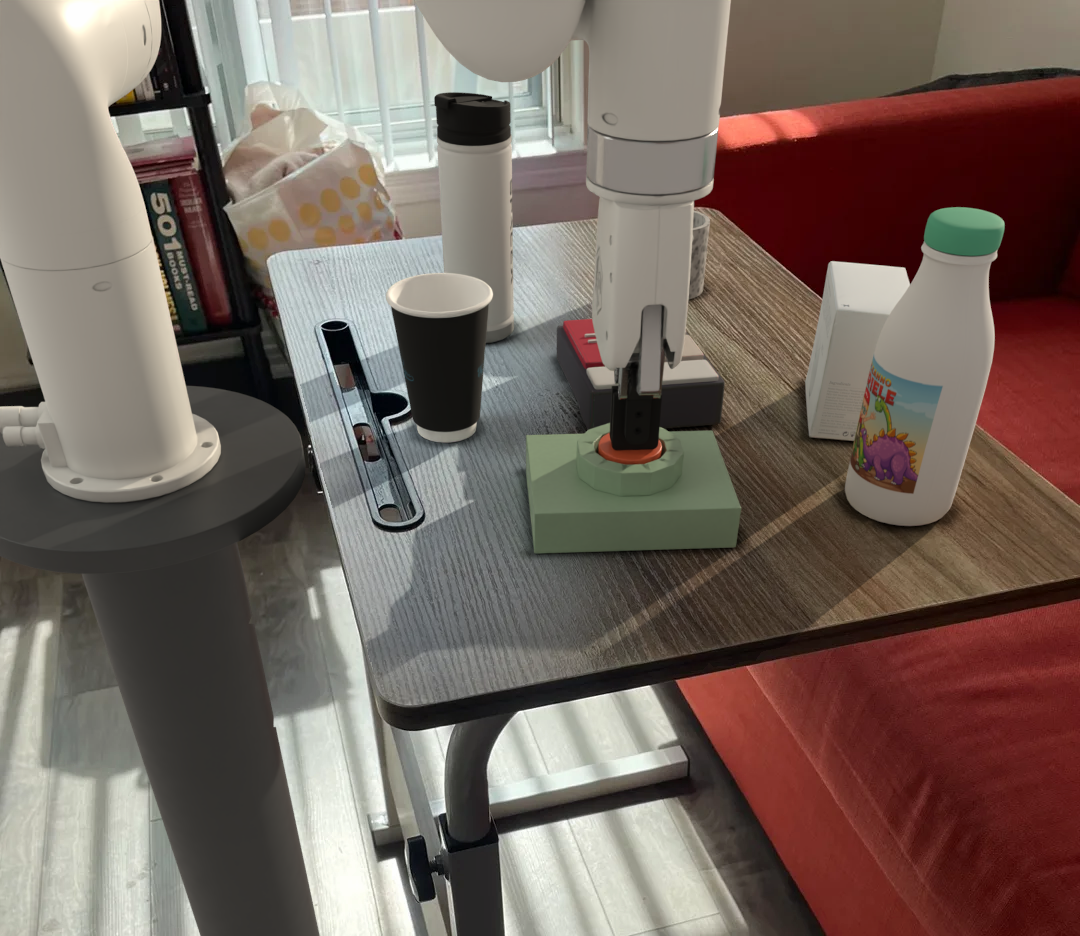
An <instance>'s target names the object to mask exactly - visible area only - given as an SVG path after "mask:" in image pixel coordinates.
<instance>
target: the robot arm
mask: <svg viewBox="0 0 1080 936" xmlns="http://www.w3.org/2000/svg"><path fill="white" fill-rule="evenodd" d="M413 1H414V2H415V5H416V6H417V8H418V9H419V11H420V13H421V15H422V17H423V18H424V19H425V21H426V23H427V24H428V26H429V28H430V29H431V31H432V32H433V34H434V36H435V37H436V38H437V40H438V41H439V42H440V44H441V45H442V46H443V47H444V48H445V50H446V51H447V52H448V53H449V54H450V55H451V56H452V57H453V58H454V59H455V60H456V61H457V62H458V63H459V64H460V65H461V66H462V67H464V68H465V69H467V70H468V71H469V72H471V73H472V74H475V75H476V76H479V77H481V78H483V79H486V80H488V81H493V82H497V83H518V82H521V81H525V80H529V79H531V78H534V77H536V76H537V75H540V74H541V73H543V72H544V71H546V70H547V69H548V68H550V67H551V66H552V65H553V64H554V63H555V62H556V61H557V60H558V59H559V57H560V56H561V55H562V53H564V51H565V50H566V48H567V47H568V45H569V43H570V42H572V41H584V42H585V43H586V45H587V47H588V51H589V52H588V84H587V86H588V87H587V125H586V126H587V128H586V129H587V130H586V131H587V133H586V135H587V136H586V166H585V167H586V170H585V171H586V172H585V186H586V188H587V190H588V191H589V192H590V193H593V194H594V195H595V196H597V197H599V198H598V209H597V222H596V234H595V235H596V237H595V251H594V252H595V254H594V255H595V256H594V271H593V285H592V286H593V287H592V298H591V299H592V300H591V319H592V321H593V326H594V331H595V336H596V340H597V344H598V348H599V352H600V356H601V359H602V362H603V364H604V365H605V366H606V368H608V369H609V370H610V371H614V382H615V384H618V386H612V390H611V413H610V440H611V444H612V448H613V449H614V450H651V449H655V448H656V447H657V446H658V440H659V428H660V415H661V402H662V393H661V390H662V380H663V371H664V363H665V357H666V359H667V362H668V365H669V367H670V368H671V369H673V368H675V367H676V366H677V365H678V364H679V363H680V362H681V359H682V354H683V348H684V340H685V332H686V331H687V321H688V310H689V309H688V307H689V299H688V298H689V285H690V270H691V254H692V242H693V216H694V211H695V201H697V200H700V199H702V198H705V197H706V196H708V195H709V194H711V192H712V191H713V188H714V181H715V179H714V178H715V168H716V157H717V146H718V137H719V126H720V119H721V118H720V117H721V106H722V98H723V97H722V95H723V87H724V86H723V84H724V74H725V64H726V52H727V45H728V32H729V25H730V24H729V22H730V14H731V3H732V0H413ZM161 14H162V13H161V6H160V0H0V262H1V266H2V268H3V270H4V275H5V278H6V281H7V284H8V287H9V291H10V293H11V297H12V300H13V304H14V307H15V310H16V313H17V317H18V319H19V323H20V325H21V328H22V329H21V330H22V332H23V335H24V338H25V341H26V344H27V348H28V351H29V354H30V357H31V361H32V363H33V366H34V367H33V368H34V370H35V373H36V376H37V380H38V382H39V386H40V389H41V392H42V395H43V399H44V401H40V403H39V404H38V406H23V405H14V406H13V405H11V406H8V405H7V406H6V405H5V406H0V433H1V434H3V439H4V442H5V444H6V445H7V446H26V445H39V447H40V448H43V449H45V450H44V451H43V454H42V458H41V463H42V469H43V471H44V474H45V477H46V479H47V482H48V483H49V484H50V485H51V486H52V487H53V488H54V489H56V490H58V491H59V492H61V493H63V494H65V495H67V496H70V497H73V498H76V499H80V500H85V501H90V502H102V503H122V502H132V501H140V500H146V499H150V498H155V497H159V496H162V495H166V494H169V493H172V492H175V491H177V490H180V489H182V488H184V487H186V486H189V485H190V484H192V483H194V482H196V481H197V480H199V479H201V478H202V477H203V476H204V475H205V474H207V473H208V472H209V471H210V470H211V469H212V468H213V467H214V465H215V464H216V463H217V462H218V459H219V457H220V454H221V444H220V440H219V436H218V432H217V431H216V429H215V428H214V426H213V425H212V424H210V423H209V422H208V421H207V420H205V419H203V418H201V417H199V416H197V415H195V414H192V412H191V407H190V403H189V398H188V394H187V389H186V386H187V384H186V381H185V376H184V371H183V367H182V363H181V362H182V361H181V358H180V353H179V350H178V344H177V339H176V335H175V331H174V328H173V322H172V318H171V313H170V308H169V305H168V304H169V303H168V299H167V295H166V291H165V286H164V281H163V277H162V273H161V272H162V271H161V267H160V263H159V258H158V253H157V250H156V245H155V241H154V236H153V234H152V230H151V226H150V221H149V217H148V213H147V212H148V211H147V209H146V204H145V201H144V196H143V193H142V190H141V187H140V184H139V181H138V178H137V175H136V173H135V170H134V168H133V165H132V163H131V161H130V159H129V156H128V155H127V152H126V150H125V149H124V147H123V145H122V142H121V140H120V138H119V136H118V134H117V131H116V129H115V126H114V124H113V121H112V118H111V113H110V111H109V107H110V106H111V105H113V104H114V103H116V102H118V101H119V100H120V99H122V98H124V97H125V96H126V95H128V94H129V93H130V92H132V91H133V90H134V89H136V88H137V87H138V86H139V85H140V84H141V83H142V82H144V80H145V79H146V78H147V77H148V75H149V74H150V72H151V71H152V69H153V67H154V65H155V63H156V60H157V59H158V55H159V51H160V46H161V41H162V15H161Z"/></svg>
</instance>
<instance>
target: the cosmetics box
mask: <svg viewBox="0 0 1080 936" xmlns="http://www.w3.org/2000/svg"><path fill="white" fill-rule="evenodd" d="M824 281H825V282H824V286H823V287H824V288H823V292H822V293H823V294H822V298H821V299H822V300H821V304H820V310H819V315H818V319H817V325H816V331H815V335H814V339H813V345H812V350H811V355H810V359H809V365H808V369H807V372H806V377H805V382H804V384H805V385H804V386H805V401H806V403H805V404H806V416H807V426H808V427H807V428H808V436H809V438H812V439H813V438H814V439H827V440H839V441H851V442H854V439H855V435H856V430H857V425H858V421H859V416H860V411H861V407H862V402H863V398H864V393H865V389H866V385H867V380H868V376H869V371H870V367H871V363H872V359H873V356H874V352H875V348H876V344H877V341H878V338H879V335H880V333H881V330H882V328H883V326H884V324H885V322H886V320H887V318H888V316H889V315H890V313H891V311H892V310H893V309H894V307H895V306H896V304H897V303H898V302H899V300H900V299H901V297H902V296H903V295H904V293H905V292H906V290H907V289H908V287H909V286H910V284H911V283H910V279H909V276H908V273H907V270H906V267H903V266H902V267H901V266H892V265H891V266H890V265H879V264H869V263H859V262H847V261H835V260H832V261H830V262H828V264H827V270H826V275H825V280H824Z"/></svg>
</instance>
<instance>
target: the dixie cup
mask: <svg viewBox="0 0 1080 936" xmlns="http://www.w3.org/2000/svg"><path fill="white" fill-rule="evenodd" d="M492 297H493V292H492V289H491V288H490V286H489V285H488V284H486V283H485V282H483V281H482V280H480V279H477V278H474V277H471V276H467V275H461V274H453V273H444V272H433V273H422V274H417V275H411V276H410V277H406V278H403V279H400V280H398V281H396V282H394V283H393V284H392V285H391V286H390V287H389V288H387V291H386V293H385V300H386V302H387V304H388V305H389V306H390V309H391V315H392V320H393V324H394V329H395V335H396V340H397V345H398V349H399V350H398V351H399V354H400V361H401V365H402V371H403V376H404V381H405V387H406V391H407V397H408V402H409V407H410V413H411V418H412V421H413V422H414V424H415V426H416V430H417V433H418V434H419V435H420V436H421V437H422V438H424V439H425V440H428V441H430V442H435V443H455V442H460V441H463V440H466V439H469V438H470V437H472V436H473V435H474V434H475V433H476V431H477V425H478V424H477V423H478V421H479V420H480V418H481V407H482V395H483V381H484V369H485V356H486V344H487V343H486V333H487V321H488V308H489V303H490V301H491V300H492Z"/></svg>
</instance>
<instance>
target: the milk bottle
mask: <svg viewBox="0 0 1080 936" xmlns="http://www.w3.org/2000/svg"><path fill="white" fill-rule="evenodd" d="M1005 226H1006V225H1005V221H1004V220H1003V218H1002V217H1000V216H999V215H997V214H995V213H993V212H990V211H987V210H984V209H979V208H973V207H964V206H963V207H961V206H956V207H953V206H951V207H944V208H940V209H937V210H934V211H933V212H931V213H930V214H929V216H928V218H927V222H926V224H925V229H924V235H923V240H924V241H923V243H922V245H921V247H920V249H921V252H922V253H923V256H922V260H921V262H920V266H919V268H918V269H917V272H916V274H915V275H914V278H913V279H912V281H911V283H910V286H909V287H908V289H907V290H906V292H905V293H904V295H903V296H902V297H901V299H900V300H899V302H898V303H897V304H896V306H895V307H894V309H893V310H892V311H891V313H890V315H889V316H888V318H887V320H886V322H885V324H884V326H883V328H882V330H881V333H880V335H879V338H878V341H877V344H876V348H875V352H874V356H873V359H872V363H871V367H870V371H869V376H868V380H867V385H866V389H865V393H864V398H863V402H862V407H861V411H860V416H859V421H858V425H857V430H856V435H855V439H854V441H853V444H852V449H851V454H850V458H849V463H848V467H847V472H846V479H845V484H844V493H845V497H846V499H847V502H848V503H849V505H850V506H851V507H852V508H853V509H854V510H855V511H856V512H859V513H860V514H861V515H863V516H865V517H868V518H869V519H871V520H874V521H877V522H880V523H883V524H884V523H885V524H887V525H895V526H902V527H903V526H904V527H915V526H924V525H929V524H931V523H934V522H937V521H938V520H940V519H943V517H944V516H945V515H946V514H947V513H948V512H949V510H950V509H951V508H952V505H953V502H954V500H955V496H956V493H957V489H958V486H959V483H960V480H961V476H962V473H963V469H964V465H965V463H966V459H967V457H968V456H967V455H968V451H969V448H970V446H971V441H972V438H973V434H974V431H975V429H976V425H977V421H978V417H979V413H980V410H981V406H982V403H983V399H984V395H985V392H986V388H987V385H988V380H989V376H990V372H991V368H992V364H993V360H994V359H993V358H994V351H995V341H996V339H995V337H996V336H995V324H994V317H993V312H992V308H991V307H992V306H991V300H990V288H989V287H990V285H989V284H990V282H989V281H990V280H989V279H990V278H989V277H990V269H991V265H992V262H994V261H996V259H997V258H998V250H999V248H1000V246H1001V243H1002V241H1003V237H1004V233H1005V229H1006V228H1005Z"/></svg>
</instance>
